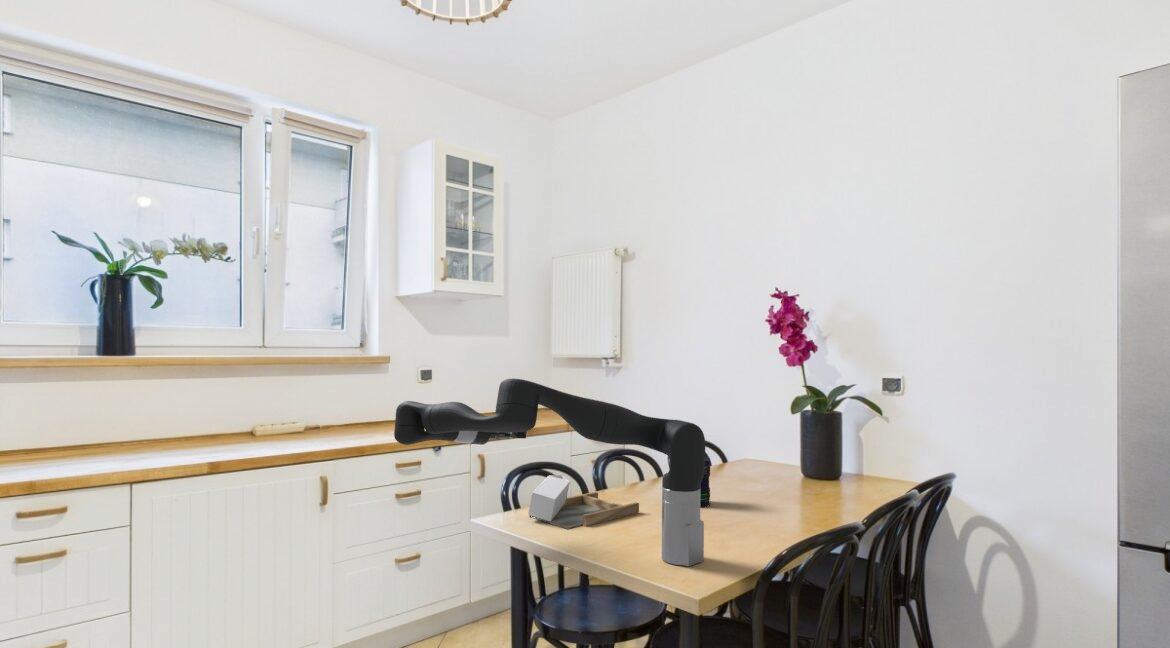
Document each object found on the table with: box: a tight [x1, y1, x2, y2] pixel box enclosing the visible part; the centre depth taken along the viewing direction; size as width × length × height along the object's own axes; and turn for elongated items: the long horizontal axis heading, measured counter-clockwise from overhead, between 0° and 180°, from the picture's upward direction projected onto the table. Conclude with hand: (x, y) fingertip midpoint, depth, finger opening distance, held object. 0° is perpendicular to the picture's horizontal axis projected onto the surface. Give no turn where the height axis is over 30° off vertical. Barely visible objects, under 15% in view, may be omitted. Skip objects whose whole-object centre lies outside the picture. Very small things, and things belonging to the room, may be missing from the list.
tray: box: [529, 491, 640, 530], centre depth 189 cm, size 19×29×3 cm
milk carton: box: [528, 473, 571, 522], centre depth 188 cm, size 7×7×19 cm
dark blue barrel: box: [700, 456, 711, 508], centre depth 204 cm, size 10×10×15 cm
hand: (524, 434), depth 171 cm, fingers closed
